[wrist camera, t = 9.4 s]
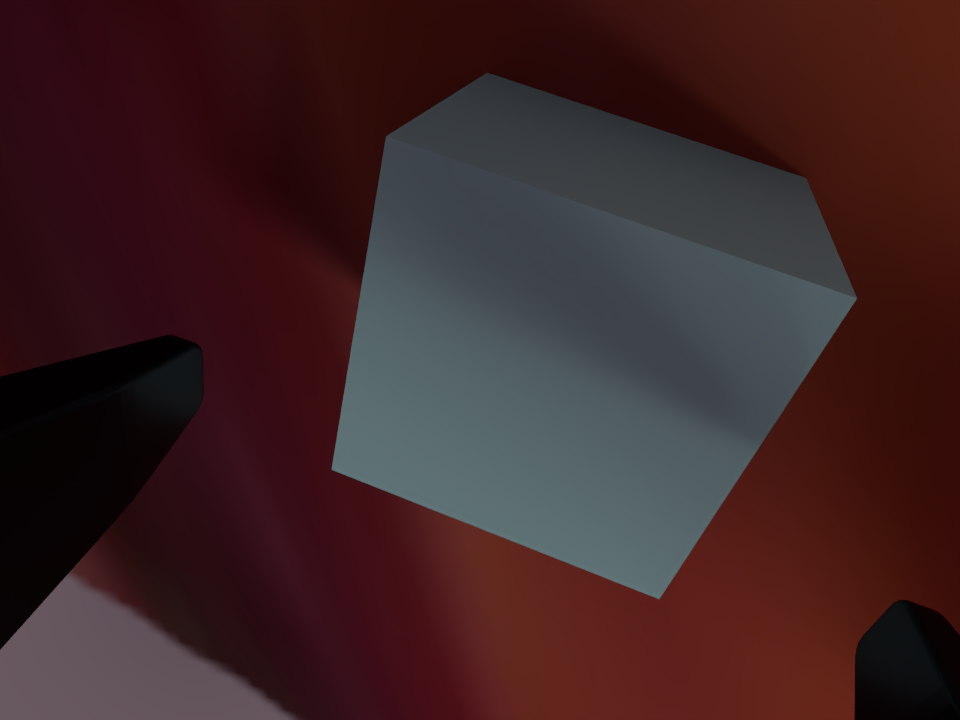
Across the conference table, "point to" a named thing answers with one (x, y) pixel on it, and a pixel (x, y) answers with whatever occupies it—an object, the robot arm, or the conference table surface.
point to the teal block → (579, 326)
